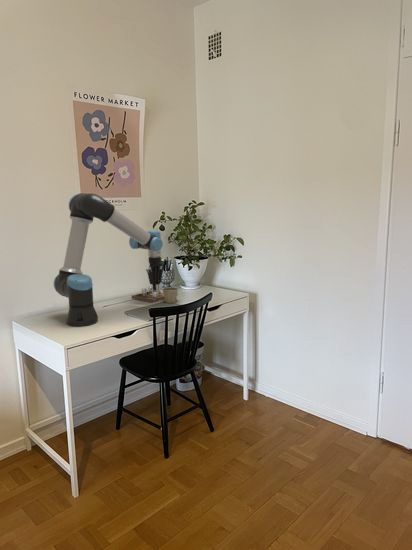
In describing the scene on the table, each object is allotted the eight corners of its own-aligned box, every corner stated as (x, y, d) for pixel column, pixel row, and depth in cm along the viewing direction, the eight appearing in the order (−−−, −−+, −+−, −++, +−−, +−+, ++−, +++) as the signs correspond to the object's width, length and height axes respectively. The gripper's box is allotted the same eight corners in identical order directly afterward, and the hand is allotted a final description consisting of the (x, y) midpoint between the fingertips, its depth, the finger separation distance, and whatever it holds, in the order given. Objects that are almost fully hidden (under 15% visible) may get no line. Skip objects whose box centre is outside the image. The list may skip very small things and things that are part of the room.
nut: (155, 299, 251) (155, 295, 250) (148, 298, 251) (148, 295, 251) (157, 297, 256) (157, 293, 255) (150, 296, 256) (150, 293, 256)
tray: (152, 304, 243) (151, 299, 242) (131, 300, 253) (131, 295, 252) (177, 297, 260) (177, 292, 259) (157, 293, 270) (157, 289, 269)
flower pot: (159, 303, 246) (158, 288, 245) (172, 300, 253) (171, 286, 251) (168, 306, 239) (168, 291, 238) (181, 303, 246) (181, 288, 244)
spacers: (155, 301, 246) (154, 293, 245) (137, 297, 254) (137, 289, 253) (174, 295, 259) (174, 287, 258) (157, 292, 268) (157, 284, 267)
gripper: (151, 258, 244) (152, 298, 249) (166, 255, 254) (167, 293, 259) (142, 257, 249) (143, 296, 253) (157, 254, 259) (159, 292, 263)
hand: (156, 295), depth 256 cm, fingers closed
